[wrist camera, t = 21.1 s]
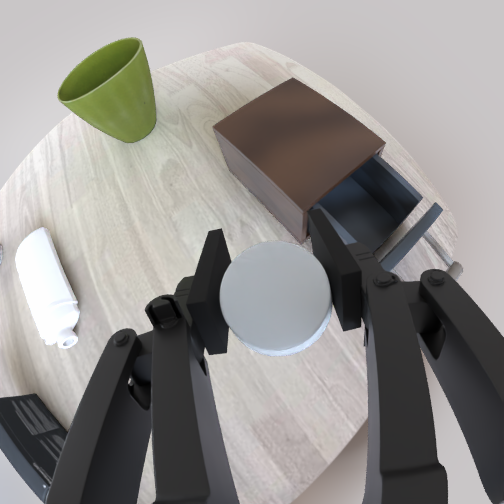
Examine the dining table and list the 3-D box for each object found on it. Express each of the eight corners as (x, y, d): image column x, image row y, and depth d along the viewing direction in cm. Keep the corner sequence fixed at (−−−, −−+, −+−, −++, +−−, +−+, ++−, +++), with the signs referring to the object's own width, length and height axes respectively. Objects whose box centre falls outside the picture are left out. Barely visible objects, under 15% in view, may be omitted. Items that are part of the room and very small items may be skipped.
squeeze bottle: (54, 232, 41) (36, 222, 36) (97, 324, 35) (74, 321, 30) (27, 267, 40) (8, 260, 35) (64, 359, 34) (41, 359, 29)
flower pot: (151, 90, 48) (119, 33, 32) (192, 115, 43) (159, 43, 28) (95, 139, 46) (50, 88, 31) (125, 174, 41) (69, 114, 26)
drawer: (447, 271, 29) (480, 253, 22) (391, 336, 28) (419, 335, 21) (344, 164, 35) (352, 126, 28) (281, 214, 34) (277, 182, 27)
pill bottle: (280, 365, 17) (267, 389, 9) (232, 311, 18) (182, 290, 10) (336, 313, 17) (368, 294, 9) (285, 262, 19) (277, 205, 11)
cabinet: (368, 185, 35) (386, 142, 26) (301, 244, 34) (303, 211, 25) (295, 124, 40) (292, 77, 30) (229, 170, 39) (211, 126, 29)
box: (29, 415, 32) (-19, 420, 20) (36, 392, 33) (-15, 395, 21) (89, 483, 27) (43, 506, 16) (100, 464, 28) (49, 487, 17)
